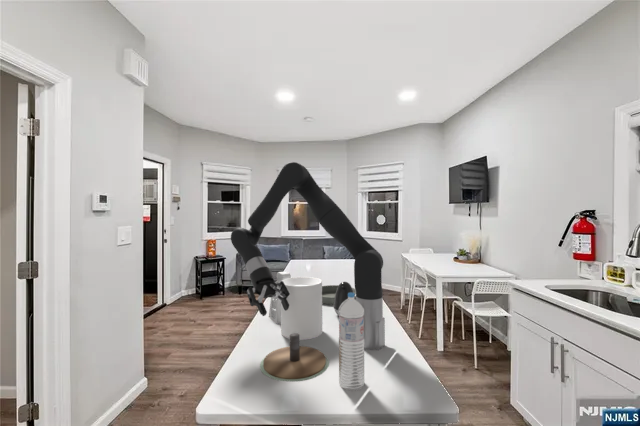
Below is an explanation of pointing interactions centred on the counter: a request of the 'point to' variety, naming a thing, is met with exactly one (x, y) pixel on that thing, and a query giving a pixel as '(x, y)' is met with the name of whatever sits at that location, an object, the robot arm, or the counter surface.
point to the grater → (277, 303)
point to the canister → (302, 308)
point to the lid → (294, 361)
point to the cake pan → (330, 293)
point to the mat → (294, 379)
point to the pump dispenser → (341, 295)
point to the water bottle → (351, 344)
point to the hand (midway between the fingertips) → (276, 311)
